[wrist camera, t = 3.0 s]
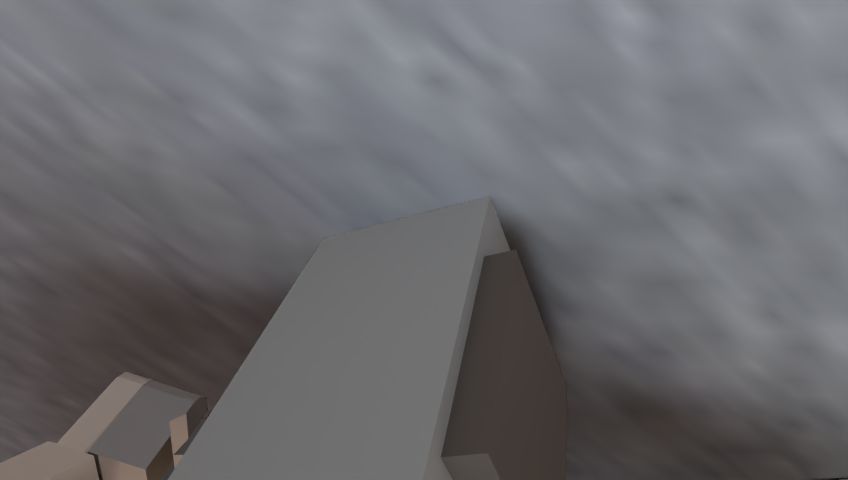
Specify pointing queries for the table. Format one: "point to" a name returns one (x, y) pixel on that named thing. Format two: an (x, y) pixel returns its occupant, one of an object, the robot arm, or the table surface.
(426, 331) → the grey stepped block
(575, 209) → the table surface
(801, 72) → the table surface
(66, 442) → the robot arm
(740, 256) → the table surface
